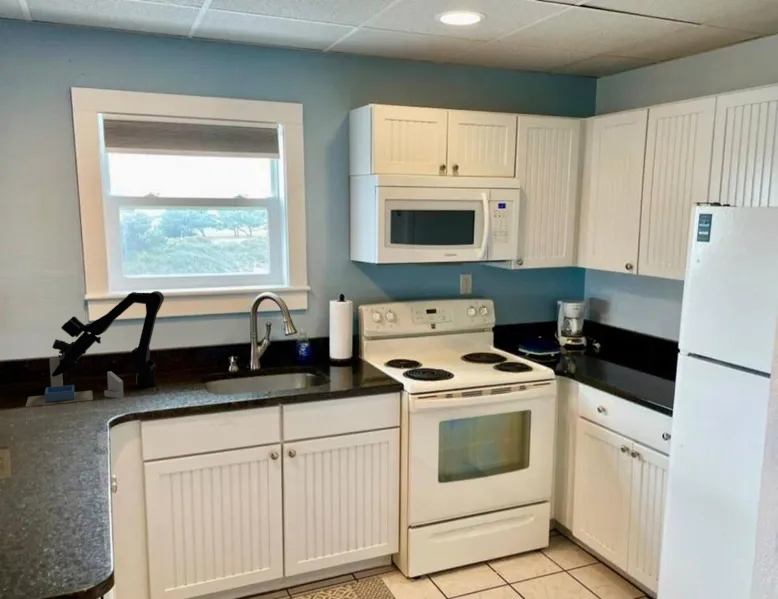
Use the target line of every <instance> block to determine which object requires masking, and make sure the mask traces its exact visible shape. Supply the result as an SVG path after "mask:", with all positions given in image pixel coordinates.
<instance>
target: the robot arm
mask: <svg viewBox="0 0 778 599" xmlns="http://www.w3.org/2000/svg"><path fill="white" fill-rule="evenodd" d="M164 300H165V296H164V295H163V293H162V292H160V291H158V290H156V291H155V290H154V291H152V292H136V291H133V292H130V293H128V294H127V296H125V297H124V298H123V299H122V300H121V301H120V302H118V304H117V305H115V306H114V307H113V308H112V309H111V310H110V311H108V312H107V313H106V314H104V315H102V316H101V317H99V318H97V319H96V320H94V321H92V322H90V323H86V324H84V323H83V322H81V321H80V320H79V318H77V317H76V316H74V315H73V316H72V317H71V318H69V319H68V320H67V321H66V322H65V323H64V324H63V325H62V326H61V327H60V328H61V330H63V331H64V332H65V333H66V334H67V335H68V336H70V337H71V338H77V339H75V341H71V342H70V343H69V342H66V341H63V340H61V339H56V338H55V339H54V342H53V344H52V347H51V348H53V350H59V351H58V353H59V354H58V358H59V357H61V359H59V360H60V364H59V365H58V367H57V368H56V369H55V371H54V372H53V374H52V376H53V377H55V376H57V375H59V374H61V373H62V374H64V373H66V372H68V371H70V370H73V371H74V370H76V369H77V368H78V364H79V363H78V361H79V360H80V358H81V357H82V356H83V355H85V354H87V351H88V350H89V349H90V347H92V346H93V344H94V343H97V344H102V342H101V339H102V337H101V336H100V335H102V334H103V333H105V332H107V331H108V329H109V328H110V327H111V325H112V324H113V323H114V321H115V320H117V318H118V317H119V316H121V315H122V314H123V313H124V312H126V311H127V310H128V309H130V307H132V306H133V305H134V304H141V305H143V304H144V305H145V317H144V322H143V326H142V329H141V330H142V331H141V334H140V339H139V342H138V343H139V344H138V347H135V348H133V349H132V351H131V356H130V358H129V360H130V361H131V363H130V364H131V366H132V367H133V368H134V369H136V373H137V374H136V375H135V376H136V377H135V378H136V386H137V387H138V388H139V387H142V388H149V387H150V388H151V386H152V387H156V381H155V380H156V379H155V378H156V376H155V374H156V373H155V366H156V363H155V362H154V361H153V360H152V359H151V358H150V356H151V351H150V344H151V341H152V336H153V332H154V328H155V324H156V319H157V315H158V314H159V313H158V312H159V311H160V310H161V307H162V305H163V302H164Z"/></svg>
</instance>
